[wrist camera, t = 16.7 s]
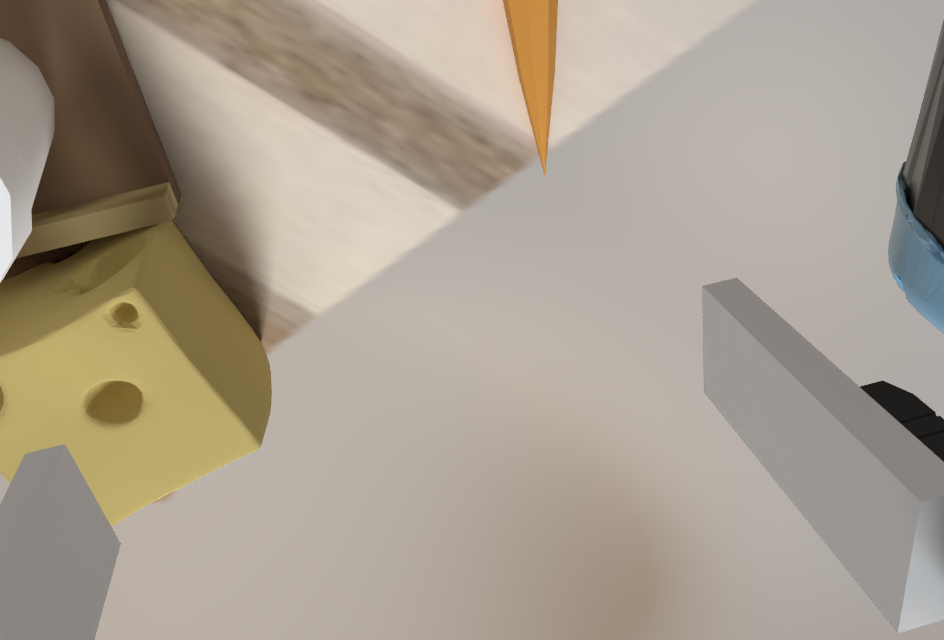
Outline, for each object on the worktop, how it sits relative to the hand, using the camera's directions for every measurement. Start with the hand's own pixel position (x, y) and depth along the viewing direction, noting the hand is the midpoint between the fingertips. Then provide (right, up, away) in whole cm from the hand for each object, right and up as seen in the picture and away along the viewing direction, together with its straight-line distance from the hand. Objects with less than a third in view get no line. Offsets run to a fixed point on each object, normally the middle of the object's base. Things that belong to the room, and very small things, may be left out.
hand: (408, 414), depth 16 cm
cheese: (-17, +2, +26) cm, 31 cm away
